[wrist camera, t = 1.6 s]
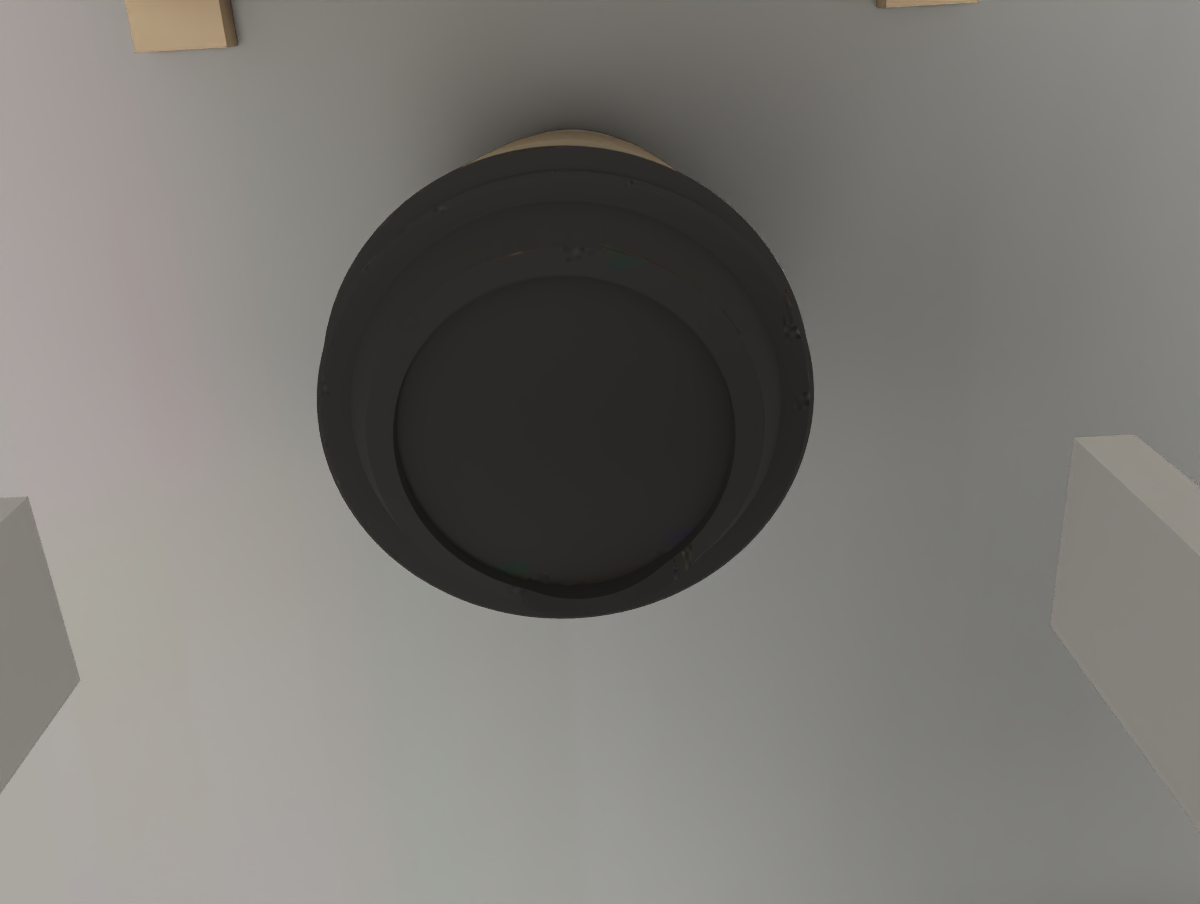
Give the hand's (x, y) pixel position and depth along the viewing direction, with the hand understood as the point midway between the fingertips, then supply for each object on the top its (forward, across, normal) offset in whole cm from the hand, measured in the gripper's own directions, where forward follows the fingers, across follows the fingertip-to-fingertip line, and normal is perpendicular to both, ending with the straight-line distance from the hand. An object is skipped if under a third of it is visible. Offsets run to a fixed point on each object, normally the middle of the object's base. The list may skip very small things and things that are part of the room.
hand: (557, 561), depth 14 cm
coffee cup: (+20, 0, 0) cm, 20 cm away
